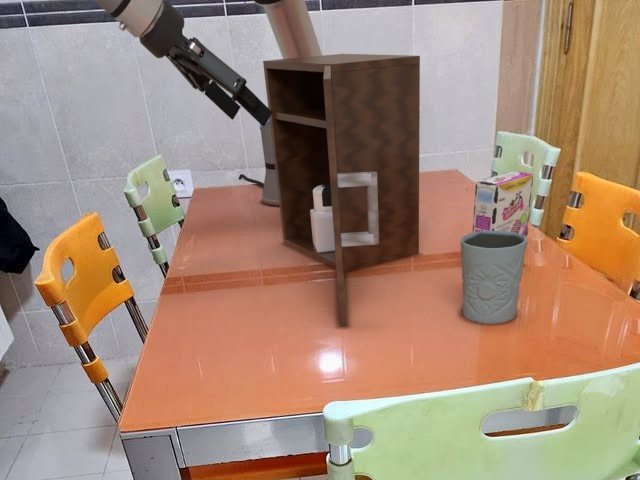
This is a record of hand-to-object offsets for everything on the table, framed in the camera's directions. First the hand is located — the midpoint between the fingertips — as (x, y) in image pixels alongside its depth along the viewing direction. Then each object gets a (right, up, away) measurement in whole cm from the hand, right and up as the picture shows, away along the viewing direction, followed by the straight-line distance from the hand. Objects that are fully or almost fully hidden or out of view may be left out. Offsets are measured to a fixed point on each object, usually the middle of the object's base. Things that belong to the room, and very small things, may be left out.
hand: (251, 116), depth 118 cm
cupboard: (+17, -16, +21) cm, 32 cm away
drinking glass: (+41, -39, -11) cm, 58 cm away
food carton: (+46, -26, +6) cm, 53 cm away
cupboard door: (+20, -33, -3) cm, 39 cm away
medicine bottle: (+14, -17, +19) cm, 29 cm away
